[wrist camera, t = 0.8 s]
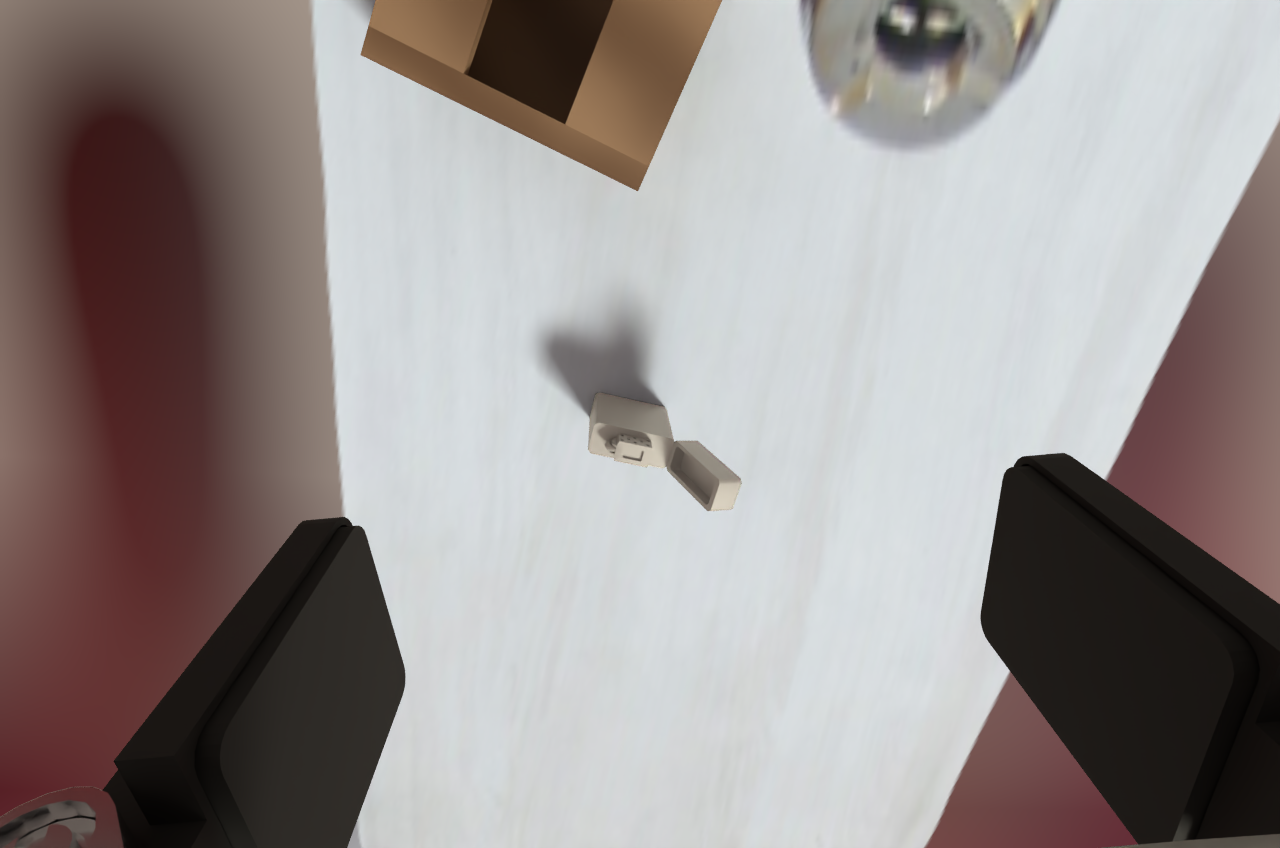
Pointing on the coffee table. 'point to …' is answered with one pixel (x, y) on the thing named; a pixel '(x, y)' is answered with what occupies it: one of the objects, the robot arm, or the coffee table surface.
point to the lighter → (659, 449)
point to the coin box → (553, 67)
